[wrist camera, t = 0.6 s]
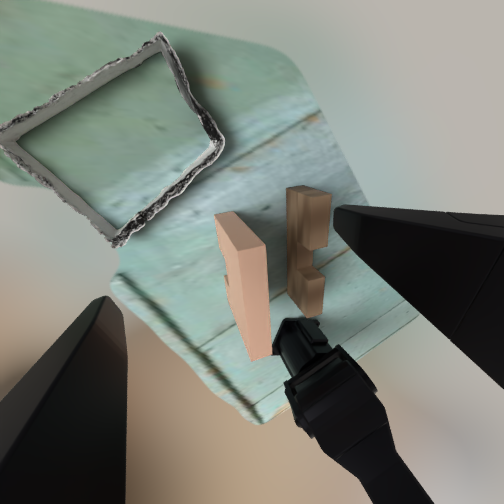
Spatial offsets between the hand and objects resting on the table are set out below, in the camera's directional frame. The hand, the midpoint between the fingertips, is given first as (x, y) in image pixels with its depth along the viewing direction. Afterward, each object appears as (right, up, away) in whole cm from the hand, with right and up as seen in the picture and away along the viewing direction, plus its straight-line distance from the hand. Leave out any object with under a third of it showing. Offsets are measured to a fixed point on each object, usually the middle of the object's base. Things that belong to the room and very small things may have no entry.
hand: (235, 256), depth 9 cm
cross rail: (+6, +1, +19) cm, 20 cm away
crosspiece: (-2, -1, +17) cm, 17 cm away
